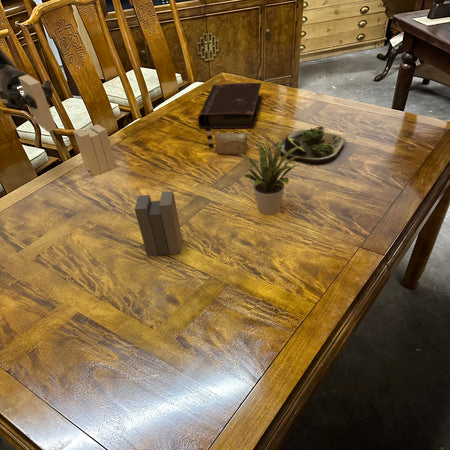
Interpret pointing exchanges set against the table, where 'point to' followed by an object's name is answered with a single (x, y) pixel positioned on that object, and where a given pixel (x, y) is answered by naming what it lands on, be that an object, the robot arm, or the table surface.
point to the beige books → (95, 149)
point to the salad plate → (312, 146)
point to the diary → (231, 106)
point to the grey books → (159, 224)
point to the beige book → (38, 102)
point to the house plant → (270, 178)
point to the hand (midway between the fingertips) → (40, 102)
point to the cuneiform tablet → (228, 142)
